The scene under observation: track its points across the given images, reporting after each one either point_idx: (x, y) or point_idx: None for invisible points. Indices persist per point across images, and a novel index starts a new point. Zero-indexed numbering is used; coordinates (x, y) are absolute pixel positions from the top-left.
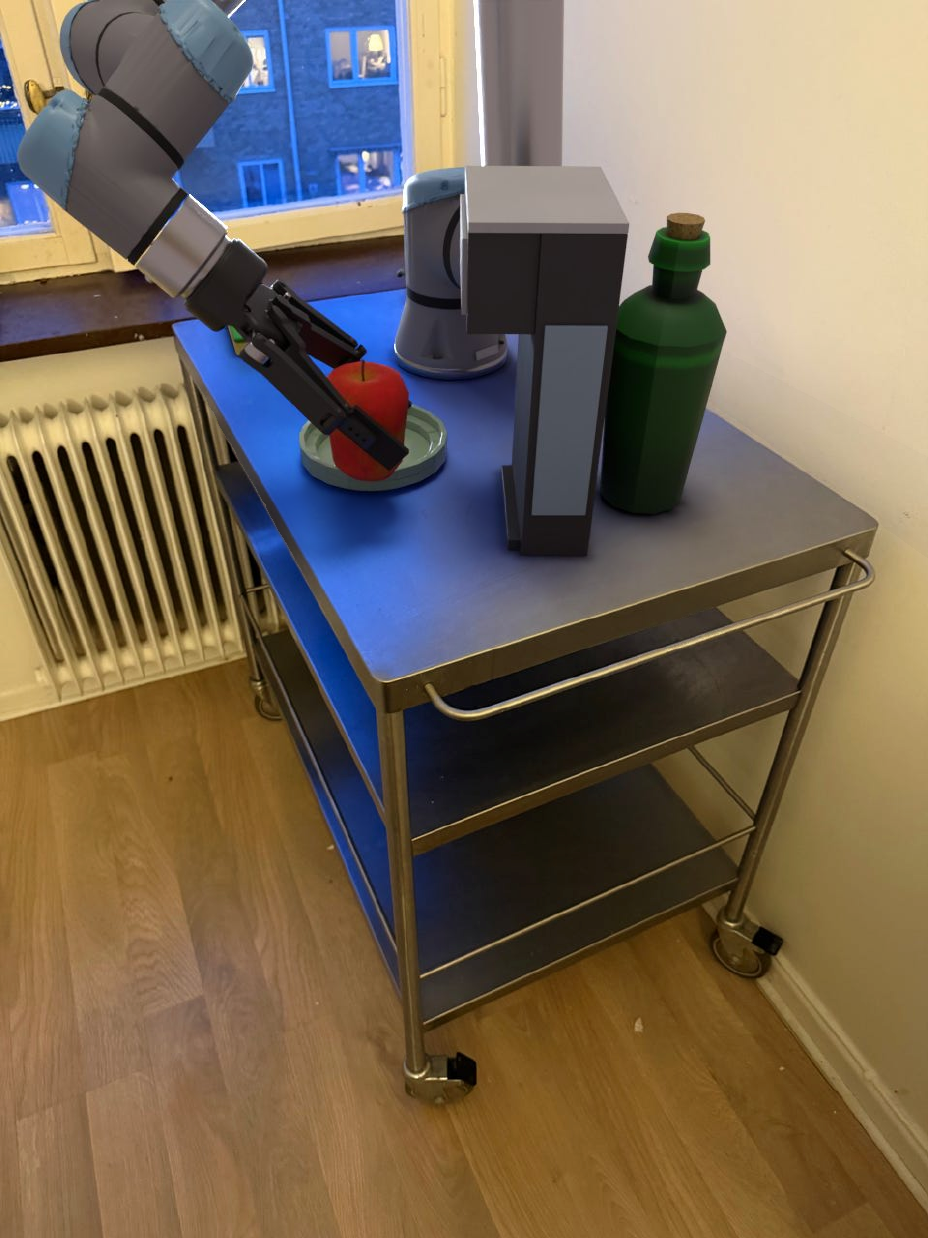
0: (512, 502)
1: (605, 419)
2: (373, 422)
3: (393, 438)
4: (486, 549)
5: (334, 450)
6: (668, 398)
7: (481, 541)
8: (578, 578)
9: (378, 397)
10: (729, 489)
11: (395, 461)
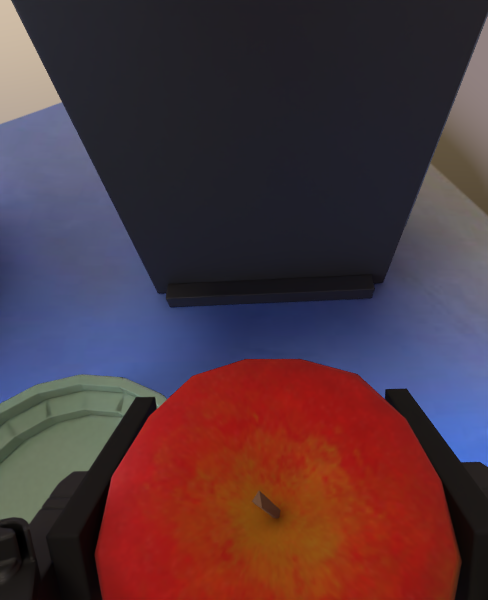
0: (274, 283)
1: None
2: (458, 466)
3: (416, 416)
4: (374, 326)
5: None
6: None
7: (354, 333)
8: (417, 223)
9: (410, 435)
10: None
11: None
